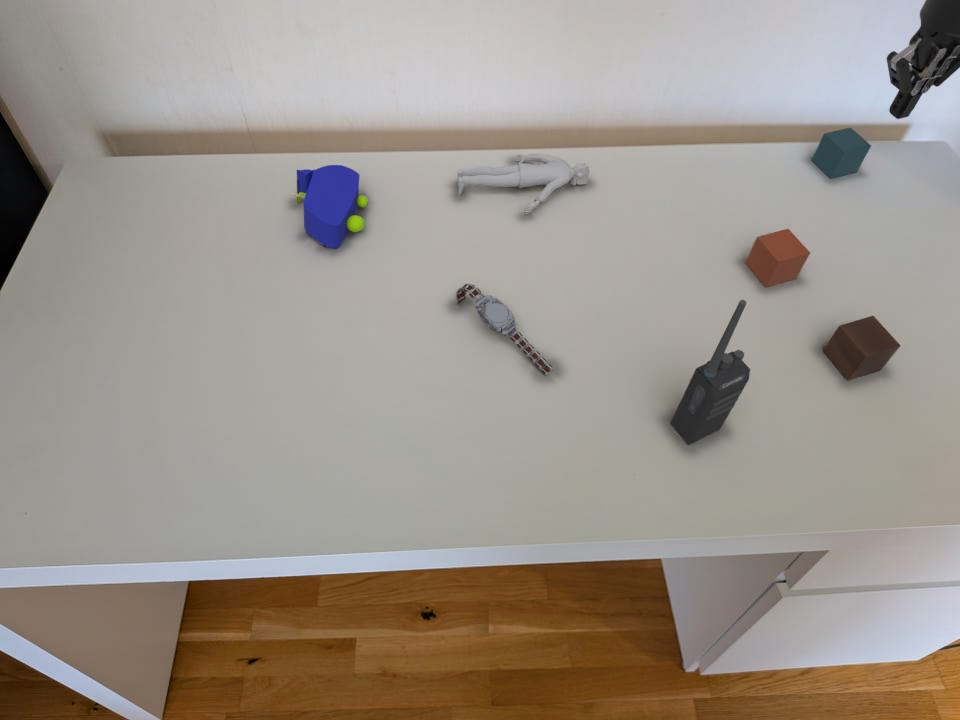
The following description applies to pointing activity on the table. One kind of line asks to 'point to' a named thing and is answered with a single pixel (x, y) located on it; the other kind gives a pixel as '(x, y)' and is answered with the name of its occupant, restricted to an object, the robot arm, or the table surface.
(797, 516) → the table surface
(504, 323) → the wristwatch
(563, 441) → the table surface
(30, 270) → the table surface
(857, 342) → the walnut block
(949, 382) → the table surface
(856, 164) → the teal block
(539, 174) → the figurine
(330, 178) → the toy
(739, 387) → the walkie-talkie
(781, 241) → the terracotta block
